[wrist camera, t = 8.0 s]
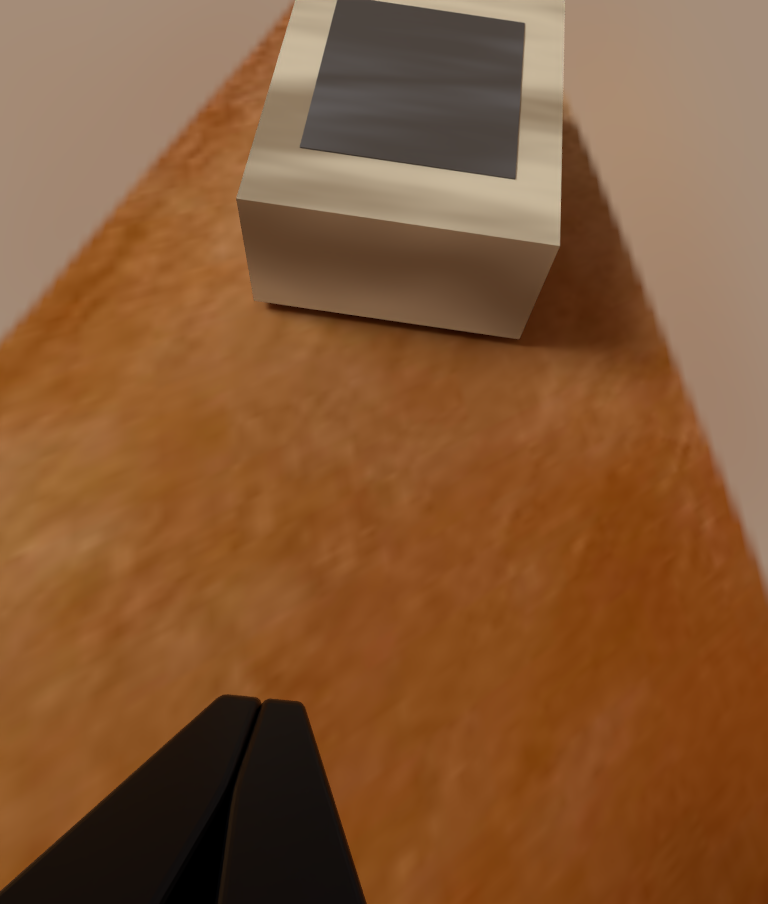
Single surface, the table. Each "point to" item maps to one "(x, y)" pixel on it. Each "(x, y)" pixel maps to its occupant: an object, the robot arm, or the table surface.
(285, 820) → the robot arm
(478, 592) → the table surface
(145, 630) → the table surface
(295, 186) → the birch block
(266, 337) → the table surface
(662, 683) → the table surface
